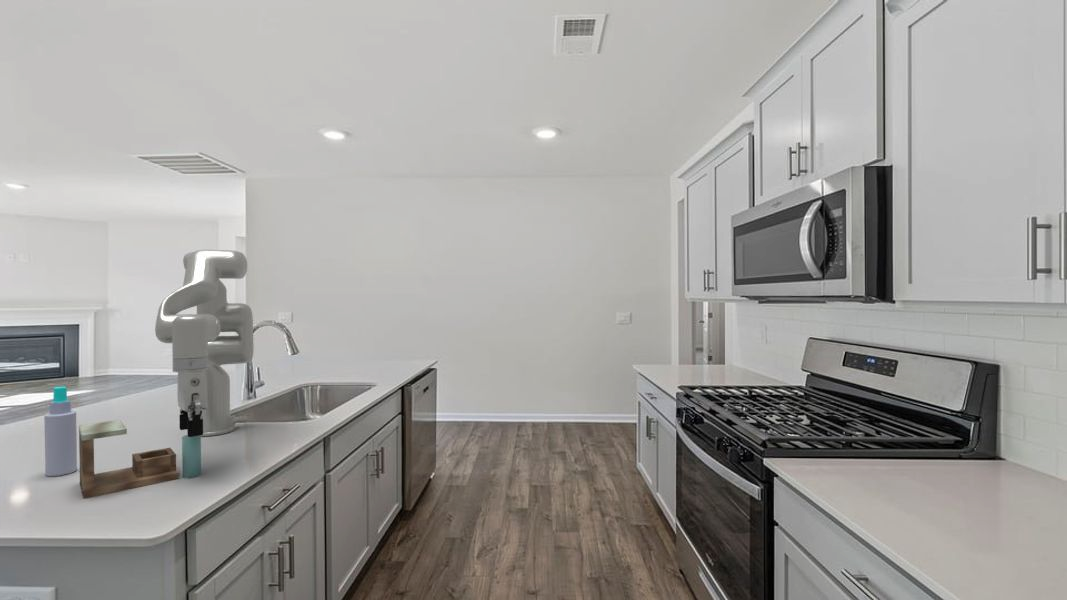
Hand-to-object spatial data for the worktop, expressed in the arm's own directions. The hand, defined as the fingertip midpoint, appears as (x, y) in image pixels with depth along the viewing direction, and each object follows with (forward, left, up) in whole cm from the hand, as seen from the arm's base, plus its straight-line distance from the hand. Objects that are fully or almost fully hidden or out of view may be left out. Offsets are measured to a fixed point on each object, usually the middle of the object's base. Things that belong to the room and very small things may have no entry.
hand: (191, 432), depth 132 cm
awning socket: (+12, -7, -11) cm, 17 cm away
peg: (0, -1, -11) cm, 11 cm away
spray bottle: (+24, -26, -11) cm, 37 cm away
